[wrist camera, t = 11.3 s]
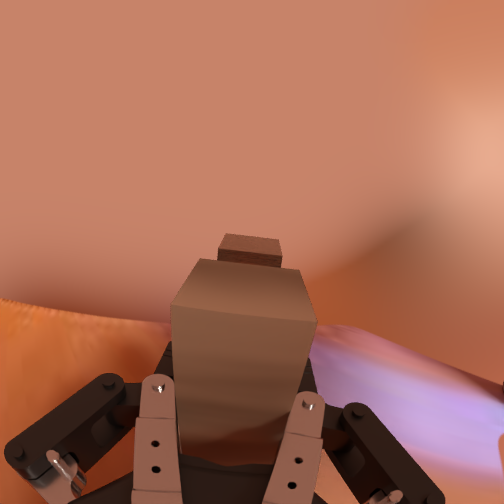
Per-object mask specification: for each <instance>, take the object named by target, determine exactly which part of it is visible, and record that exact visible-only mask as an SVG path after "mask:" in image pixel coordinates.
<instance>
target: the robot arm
mask: <svg viewBox="0 0 504 504" xmlns="http://www.w3.org/2000/svg"><path fill="white" fill-rule="evenodd" d="M503 391H504V382H503ZM133 427H135V442H134V471H132V472H130V473H128V474H126V475H125V476H123V477H121V478H119V479H117V480H115V481H113V482H111V483H109V484H107V485H105V486H103V487H101V488H99V489H97V490H95V491H92V492H90V493H88V494H86V495H84V496H81V491H82V490H83V489H84V487H85V485H86V480H87V479H86V475H85V473H86V472H87V471H88V470H89V469H90V468H91V467H92V466H93V465H94V464H95V463H96V462H98V461H99V460H100V459H101V458H102V457H103V456H104V455H105V454H106V453H107V452H108V451H109V450H110V449H111V448H112V447H113V446H114V445H115V444H116V443H117V442H118V441H120V440H121V439H122V438H123V437H124V436H125V435H126V434H127V433H128V432H129V431H130V430H131V429H132V428H133ZM322 449H325V452H326V453H327V455H328V456H329V458H330V459H331V461H332V463H333V464H334V466H335V467H336V469H337V470H338V472H339V473H340V475H341V476H342V478H343V480H344V481H345V483H346V484H347V486H348V487H349V489H350V490H351V492H352V493H353V495H354V496H355V498H356V499H357V500H358V502H359V503H360V504H445V496H444V494H443V493H442V491H441V490H440V489H439V488H438V487H437V486H436V485H435V483H434V482H433V481H432V480H431V479H430V478H429V477H428V475H427V474H426V473H425V472H424V471H423V470H422V469H421V467H420V466H419V465H418V464H417V463H416V462H415V461H414V459H413V458H412V457H411V456H410V455H409V454H408V452H407V451H406V450H405V449H404V448H403V447H402V445H401V444H400V443H399V442H398V441H397V440H396V438H395V437H394V436H393V435H392V434H391V433H390V431H389V430H388V429H387V428H386V427H385V426H384V424H383V423H382V422H381V421H380V420H379V419H378V417H377V416H376V415H375V414H374V413H373V412H372V410H371V409H370V408H369V407H368V406H366V405H364V404H362V403H357V402H354V403H349V404H347V405H346V406H345V407H344V409H343V408H338V407H334V406H330V405H328V404H326V403H325V401H324V399H323V398H322V397H321V396H320V395H318V393H317V389H316V384H315V380H314V375H313V371H312V368H311V362H310V359H309V358H308V359H307V362H306V366H305V369H304V372H303V376H302V379H301V382H300V385H299V389H298V392H297V395H296V398H295V401H294V404H293V407H292V410H291V411H290V413H289V416H288V419H287V423H286V426H285V430H284V433H283V435H282V438H281V440H280V441H279V444H278V447H277V450H276V453H275V456H274V459H273V462H272V464H245V465H236V466H222V465H219V464H216V463H214V462H211V461H208V460H205V459H203V458H200V457H195V456H189V455H184V454H181V453H180V442H179V429H178V417H177V408H176V397H175V386H174V373H173V357H172V341H170V342H169V343H168V345H167V347H166V350H165V351H164V353H163V356H162V358H161V360H160V362H159V364H158V366H157V368H156V370H155V372H154V374H153V375H150V376H148V377H146V378H145V379H144V380H143V382H142V383H124V381H123V379H122V378H121V377H120V376H119V375H117V374H113V373H105V374H102V375H100V376H98V377H97V378H95V379H94V380H93V381H91V382H90V383H89V384H87V385H86V386H85V387H83V388H82V389H81V390H79V391H78V392H76V393H75V394H74V395H72V396H71V397H70V398H68V399H67V400H66V401H64V402H63V403H62V404H60V405H59V406H57V407H56V408H55V409H53V410H52V411H51V412H49V413H48V414H46V415H45V416H44V417H42V418H41V419H40V420H38V421H37V422H36V423H34V424H33V425H31V426H30V427H29V428H27V429H26V430H24V431H23V432H22V433H20V434H19V435H18V436H16V437H15V438H13V439H12V440H11V441H9V442H8V443H7V444H6V446H5V449H4V456H5V459H6V461H7V462H8V463H9V464H10V465H11V466H12V468H13V469H14V470H15V471H16V472H17V473H18V475H19V476H20V477H21V478H23V479H24V480H25V481H26V482H27V483H28V484H29V485H30V486H31V487H32V488H34V489H35V490H36V491H37V492H38V493H39V494H40V495H41V496H42V497H43V498H44V499H45V500H46V501H47V502H48V503H49V504H328V503H326V502H325V501H324V500H323V499H322V498H321V497H319V496H318V495H317V494H316V493H315V492H314V489H315V484H316V479H317V474H318V469H319V463H320V457H321V451H322Z"/></svg>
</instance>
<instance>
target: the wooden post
mask: <svg viewBox="0 0 504 504" xmlns="http://www.w3.org/2000/svg"><path fill="white" fill-rule="evenodd" d="M317 322H318V321H317V318H316V316H315V313H314V310H313V307H312V304H311V301H310V299H309V296H308V293H307V290H306V287H305V285H304V282H303V279H302V276H301V274H300V271H299V270H293V269H285V268H276V267H268V266H259V265H251V264H242V263H234V262H225V261H217V260H209V259H201V258H200V259H199V261H198V262H197V264H196V265H195V267H194V269H193V270H192V272H191V273H190V275H189V276H188V278H187V279H186V281H185V283H184V284H183V286H182V287H181V289H180V290H179V292H178V294H177V295H176V297H175V298H174V300H173V301H172V303H171V337H172V357H173V373H174V386H175V397H176V408H177V417H178V426H179V434H180V441H181V449H182V454H184V455H189V456H195V457H200V458H203V459H205V460H208V461H211V462H214V463H216V464H219V465H222V466H236V465H245V464H272V462H273V459H274V456H275V453H276V450H277V447H278V444H279V441H280V440H281V438H282V435H283V433H284V430H285V426H286V423H287V419H288V416H289V413H290V411H291V410H292V407H293V404H294V401H295V398H296V395H297V392H298V389H299V385H300V382H301V379H302V376H303V372H304V369H305V366H306V362H307V359H308V355H309V352H310V348H311V345H312V341H313V337H314V334H315V330H316V326H317Z"/></svg>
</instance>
